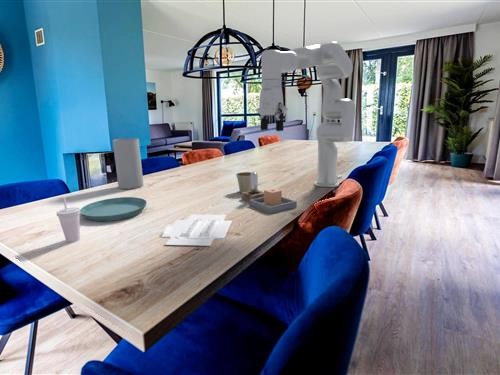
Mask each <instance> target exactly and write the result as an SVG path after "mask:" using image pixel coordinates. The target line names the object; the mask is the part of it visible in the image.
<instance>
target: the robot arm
mask: <svg viewBox="0 0 500 375" xmlns="http://www.w3.org/2000/svg"><path fill="white" fill-rule="evenodd" d="M315 66H316V67H315ZM311 67H312V68H313V67H315V68H316V70H315V71H316V75H317V78H318V79H319V81H320V83H321V84H322V87H323V100H322V107H321V108H322V110H321V115H322V118H324V119H326V120H341V121H340V122H336V121H334V122H333V121H326V122H322V123H320V124H318V126H317V128H316V138H317V175H316V177H317V179H316V181H314V182H313V185H314V186H316V187H320V188H335V187H339V186H340V182H339V180H341V179H343V175H338V174H337V172H338V171H337V169H338V147H337V145H336V143H344V144H345V143H348V142H350V141H351V140H352V137H353V134H354V127H355V117H356V104H355V102H354V101H353V100H352V99H351V98H342V94H343V93H342V91H343V88H342V86H341V84H340V82H339V81H338V80H339V79H340V80H341V79H347V78H349V77H350V76H351V75H352V73H353V69H354V66H353V62H352V60H351V58H350V57H349V55H348V54H347V52H346V50H345V48H344V47H343V46H342V45H341V44H340V43H339V42H337V41H330V42H329V41H328V42H324V43H319V44H313V45H306V46H302V47H298V48H294V49H291V50H288V51H282V50H281V51H280V50H278V49H266V50H264V51H262V53H261V89H260V93H259V100H258V101H259V103H258V104H259V105H258V108H257V113H258V117H259V120H260V131H266V130H267V131H268V129H269V122H268V121H269V120H268V117H269V116H274V117H275V118H276V119H275V130H276V132H282V131H284V121H285V118H286V116H287V112H288V107H286V106H285V105H284V94H283V88H282V74H285V73H291V72H294V71H296V70H304V69H309V68H311Z"/></svg>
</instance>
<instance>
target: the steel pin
mask: <svg viewBox="0 0 500 375" xmlns="http://www.w3.org/2000/svg"><path fill="white" fill-rule="evenodd" d="M258 183H259V182H258V171H257V172H256V171H251V194H252V195H254V194H258V185H259V184H258Z"/></svg>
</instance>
